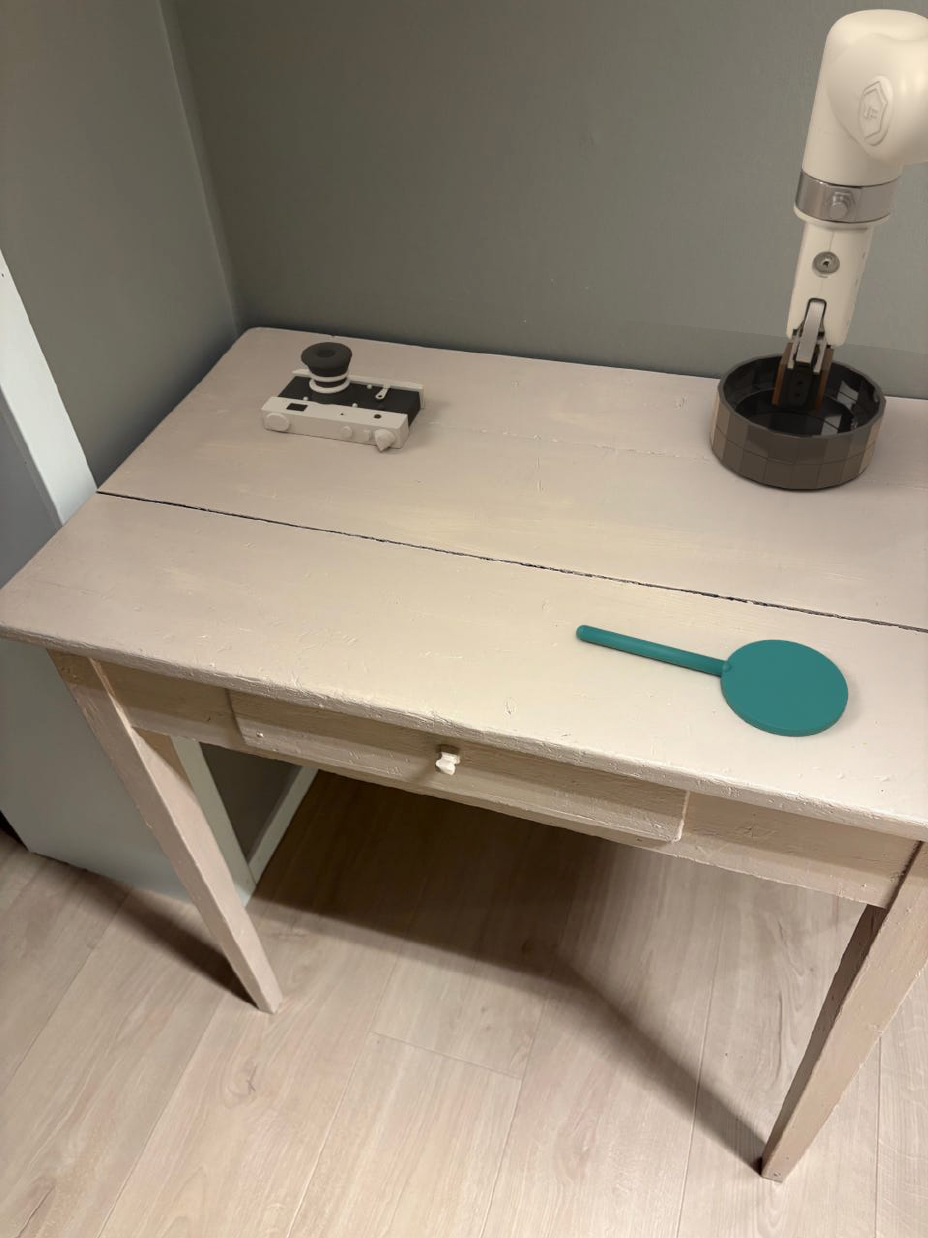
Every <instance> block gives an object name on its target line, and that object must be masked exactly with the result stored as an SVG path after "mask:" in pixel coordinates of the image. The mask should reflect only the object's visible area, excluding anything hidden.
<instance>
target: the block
mask: <svg viewBox="0 0 928 1238" xmlns="http://www.w3.org/2000/svg"><path fill="white" fill-rule="evenodd" d="M792 345H793V342H792V341H791V342H790V341H788V342H787V343H786V346H785V349H784V351H783V353H782V354H783V357H782V359H781V362H780V366H779V371H778V376H777V381H776V386H775V390H774V395H773V400H772V404H776V405H778V400H779V395H780V391H781V386H782V381H783V376H784V372H785V367H786V364H788V363H789V359H790V354H791V350H792ZM818 350H819V347H818V346H815V348H814V353H817V354H818ZM835 351H836V350H835V348H832V347H831V348H825V353H824V357H823V361H822V365H821V369H820V370H823V374H822V378H821V382H820V386H819V390H818V394H817V399H816V403H815V407H814V409H813V410H812V411H817V412H818V411H819V408H820V405H821V401H822V398H823V395H824V391H825V388H826V383H827V379H828V375H829V371H830V367H831V363H832V360H834V355H835ZM817 354H816V355H817Z"/></svg>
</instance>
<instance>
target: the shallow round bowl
mask: <svg viewBox="0 0 928 1238" xmlns="http://www.w3.org/2000/svg"><path fill="white" fill-rule="evenodd" d="M783 354H784V353H771V354H766V355H759V356H754V357H751V358H748V359H746V360H742V361H740V362H737V363H736V364H734V365H733V366H731V367H730V368H728V370H727V371H725V372H724V373H723V374H722V376H721V377H720V380H719V382H718V385H717V388H716V392H715V399H714V400H715V401H714V407H713V412H712V413H713V414H712V419H711V426H710V432H709V439H710V443H711V449H712V450H713V452H714V453H715V454H716V456H717V457H718V459H720V461H721V462H722V463H723V464H724V465H725V466H727V467H728V468H730V469H731V470H732V471H734V472H736V473H737V474H739V475H740V476H742V477H746V478H748V479H751V480H753V481H756V482H758V483H761V484H763V485H768V486H773V487H779V488H784V489H791V490H792V489H797V490H799V489H801V490H818V489H823V488H827V487H828V488H829V487H833V486H838V485H841V484H844V483H845V482H848V481H850V480H852V479H854V478H856V477H858V476H859V475H860V474H861V473H862V472H863V471H864V470H865V469H866V468H867V466H868V465H869V464H870V462H871V459H872V455H873V451H874V448H875V445H876V441H877V438H878V435H879V432H880V428H881V425H882V421H883V417H884V415H885V410H886V405H887V399H886V397H885V394H884V392H883V390H882V387H881V386H880V385H879V384H877V382H876V381H874V380H873V378H871V377H870V376H869V375H868V374H866V373H865V372H863V371H861V370H859V369H857V368H855V367H853V366H851V365H850V364H848V363H844V362H840V361H837V360H834V359H832V363H831V367H830V371H829V375H828V379H827V383H826V388H825V391H824V395H823V398H822V401H821V405H820V408H819V411H818V412H817V411H804V410H798V409H792V408H787V407H781V406H779V405H776V404H772V400H773V395H774V390H775V386H776V381H777V376H778V371H779V366H780V362H781V359H782V357H783Z"/></svg>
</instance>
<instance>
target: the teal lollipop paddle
mask: <svg viewBox="0 0 928 1238" xmlns="http://www.w3.org/2000/svg"><path fill="white" fill-rule="evenodd" d="M575 633H576V636H577V638H578V639H579V640H581V641H584V642H589V643H593V644H597V645H600V646H604V647H608V648H613V649H616V650H620V651H624V652H628V653H631V654H635V655H639V656H642V657H647V658H650V659H654V660H658V661H661V662H666V663H670V664H673V665H677V666H681V667H685V668H688V669H692V670H696V671H700V672H704V673H708V674H712V675H715V676H719V677H720V687H721V692H722V695H723V698H724V700H725V701H726V703H727V705H728V706H729V708H730V709H731V710H732V711H733V712H734V713H735V714H736V715H737V716H738V717H739V718H741V720H743V721H745V722H746V723H747V724H749V725H751V726H753V727H755V728H757V729H759V730H761V731H764V732H767V733H770V734H774V735H778V736H784V737H785V736H786V737H806V736H812V735H816V734H819V733H822V732H824V731H826V730H828V729H829V728H831V727H832V726H834V725H835V724H836V723H837V722H838V721H839V720H840V719H841V718H842V716H843V714H844V712H845V710H846V707H847V704H848V701H849V686H848V683H847V681H846V677H844V674H843V672H842V671H841V670H840V668H839V667H838V666H837V665H836V664H835V663H834V662H833V661H832V660H831V659H830V658H829V657H828V656H826V655H825V654H824V653H821V652H820V651H818V650H816V649H815V648H812V647H810V646H807V645H805V644H803V643H798V642H795V641H791V640H786V639H785V640H784V639H762V640H757V641H753V642H749V643H747V644H744V645H742V646H741V647H739V648H737V649H736V650H735V651H733V652H732V653H731V655H729V656H728V658H727V659H726V660H724V659H720V658H717V657H712V656H709V655H708V656H707V655H705V654H701V653H697V652H693V651H690V650H689V651H688V650H685V649H681V648H676V647H673V646H670V645H665V644H661V643H658V642H654V641H650V640H646V639H643V638H637V637H633V636H630V635H626V634H622V633H618V632H616V631H615V632H614V631H611V630H607V629H602V628H599V627H595V626H592V625H587V624H581V625H579V626H578V627H577V628H576V630H575Z"/></svg>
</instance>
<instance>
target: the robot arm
mask: <svg viewBox="0 0 928 1238" xmlns="http://www.w3.org/2000/svg"><path fill="white" fill-rule="evenodd" d="M825 40H826V41H825V42H824V43H825V44H824V47H823V52H822V58H821V62H820V69H819V74H818V79H817V82H816V83H817V84H816V89H815V94H814V100H813V104H812V111H811V116H810V120H809V125H808V131H807V136H806V142H805V147H804V152H803V157H802V162H801V166H800V173H799V176H798V177H799V178H798V183H797V188H796V194H795V199H794V204H793V212H794V214H795V215H796V216H797V218H799V219H801V220H802V221H803V222H805V224H804V229H803V234H802V239H801V244H800V248H799V252H798V253H799V254H798V259H797V264H796V269H795V274H794V279H793V286H792V292H791V297H790V298H791V299H790V304H789V310H788V317H787V324H786V332H785V335H786V337H787V338H788V340H790V341H791V342H792V343H793V345H792V350H791V354H790V359H789V363H788V364H786V367H785V372H784V376H783V381H782V386H781V391H780V395H779V400H778V405H779V406H781V407H787V408H792V409H798V410H804V411H812V410H813V409H814V407H815V403H816V399H817V394H818V390H819V386H820V382H821V378H822V374H823V370H820V369H821V365H822V361H823V357H824V353H825V348H831V349H832V346H834V348H840V347H841V346H843V345H844V344H845V342H846V339H847V336H848V333H849V329H850V326H851V322H852V320H853V316H854V312H855V307H856V305H857V300H858V297H859V294H860V289H861V285H862V280H863V278H864V274H865V273H864V272H865V269H866V266H867V262H868V259H869V254H870V249H871V244H872V240H873V236H874V229H875V228H876V227H878V226H881V225H883V224H884V223H887V222H888V220H890V218H891V214H892V211H893V206H894V203H895V200H896V195H897V192H898V187H899V183H900V180H901V176H902V172H903V169H904V166H910V165H918V164H922V163H927V162H928V18H926V17H925V16H923V15H920V14H918V13H915V12H911V11H906V10H899V9H887V8H885V9H884V8H882V9H865V10H859V11H854V12H852V13H847V14H845V15H844V16H842V17H840V18H839V19H837V20H836V21H835V23H834V24H833V25H832V26H831V28H830V30H829V31H828V33H827V36H826V39H825ZM815 346H818V347H819V350H818V354H817V353H814V348H815ZM816 354H817V355H816Z"/></svg>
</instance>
